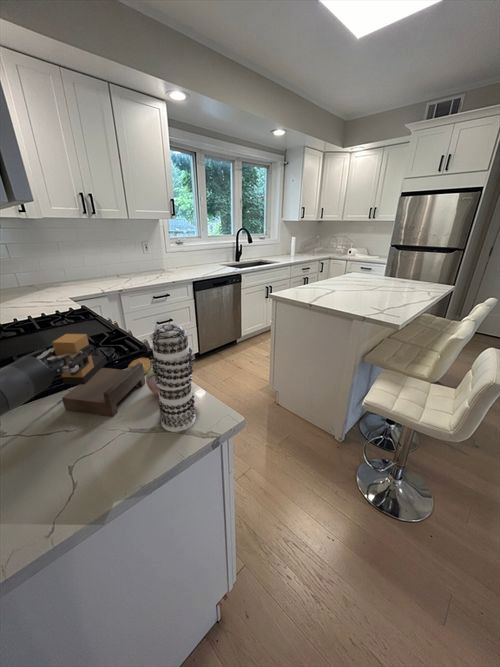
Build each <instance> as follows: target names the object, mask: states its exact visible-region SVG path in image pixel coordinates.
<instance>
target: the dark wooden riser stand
mask: <svg viewBox="0 0 500 667" xmlns="http://www.w3.org/2000/svg"><path fill="white" fill-rule="evenodd" d="M145 385H146V375H145V374H144V370H143V364H142V363H138V364H137V365H135V366H134V367H133V368H132V369H131V370H130V371H129V370H128V369H120V368H119V369H118V368H111V367H110V368H109V367H102V368H101V369H100V370H99V371H98V372H97V373H96V374H95V375H94V376H93V377H92V378H91V379H90V380H89V381H88V382H87V383H86V384H85V385H80V384H77V386H75V387H74V388H73V389H72V390H70V391H69V392H68V393H66V394H65V395H64V396H62V397H61V401H62V403H63V407H64V410H65V411H68V412H74V413H82V414H90V415H97V416H104V417H111V418H114V416H116V415H117V414H118V413H119V410H118V406H117V405H118V403H119V402H120V401H122V399H123V398H125V396H126V395H127V394H128V393H129V392H130V391H131V390H132V389H133V388H134V387H140V388H141V387H142V388H143V387H144V386H145Z"/></svg>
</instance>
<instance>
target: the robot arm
mask: <svg viewBox="0 0 500 667" xmlns="http://www.w3.org/2000/svg"><path fill="white" fill-rule="evenodd" d="M93 354H95V349H94V345H93V344H89V345H88V346H86V347H84V348H82V349H81V350H79V351H77V352H74V353H71V354H70V353H65V354H62V355H59V356H56V354H55V351H54V347H51V348H49V349H47V348H45V347H44V348H40V349H37V350H35V351H33V352H30V353H28V354H26V355H23V356H21V357H18V358H17V360H15V361H13V362H11V363H9V364H7V365H5V366H3V367H1V368H0V418H1V417H3V416H4V415H5V414H7V413H9V412H11V411H12V410H15V409H17V408H18V407H20V406H22V405H23V404H25V403H26V402H29V400H31V399H32V398H34V397H35V396H37V395H39V394H40V393H42V392H44V391H45V390H47V389H48V388H49V387H50V386H51V385H52V382H53V381H54V379H55V377H58V376H61V374H63V373H64V372H70V374H71V376H74V375H77V374H78V373H79V372H80V371H81V370H82V369H83V368H85V367H86V366H87V365H88V364H89V363H90V362H89V358H88V356H90V355H91V356H93ZM75 356H77V358H76V359H74V360H73V357H75ZM65 358H67V360H68V365H67V364H66V360H65ZM66 365H67V366H66Z"/></svg>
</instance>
